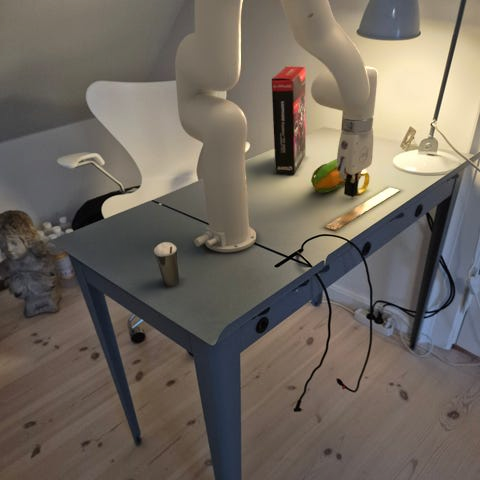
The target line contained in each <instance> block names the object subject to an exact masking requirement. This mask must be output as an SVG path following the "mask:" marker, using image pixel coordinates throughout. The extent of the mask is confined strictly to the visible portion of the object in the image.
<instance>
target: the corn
mask: <svg viewBox="0 0 480 480" xmlns="http://www.w3.org/2000/svg"><path fill="white" fill-rule="evenodd" d="M339 173H340V172H338V171H337V158H336V159H333V160H331V161H329V162H327V163H323V164H321V165H320V166H319V167H317V168H316V169H315V170H314V171H313V172H312V175H311V178H310V181H311V185H312V188H313V189H314V190H315V191H316V192H319V193H322V194H323V193H328V192H331V191H335V190H336V189H338V188H340V187H341V186H343V185H345V181H344V179H340V178H339Z"/></svg>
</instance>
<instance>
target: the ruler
mask: <svg viewBox="0 0 480 480" xmlns="http://www.w3.org/2000/svg"><path fill="white" fill-rule="evenodd" d="M399 192H401V190H400V189H397V188H393V187H388V188H386V189H385V190H383V191H381V192H380V193H378V194H377V195H374V196H373V197H371V198H370V199H368V200H366V201H365V202H363V203H361V204H360V205H357V206H356V207H355V208H353V209H352V210H350V211H348V212H346V213H344V214H343V215H342V216H340V217H338V218H337V219H335V220H333V221H332V222H330V223H328V224H326V225H325V226H324V228H325V229H326V230H329V231H333V232H337V231H338V230H339V229H341V228H343V227H344V226H346V225H348V224H349V223H351V222H353V221H354V220H356V219H357V218H359V217H361V216H363V215H364V214H365V213H367V212H368V211H370V210H372V209H373V208H375V207H377V206H378V205H380V204H381V203H383V202H384V201H386V200H388V199H390V198H391V197H393V196H394V195H396V194H398V193H399Z"/></svg>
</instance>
